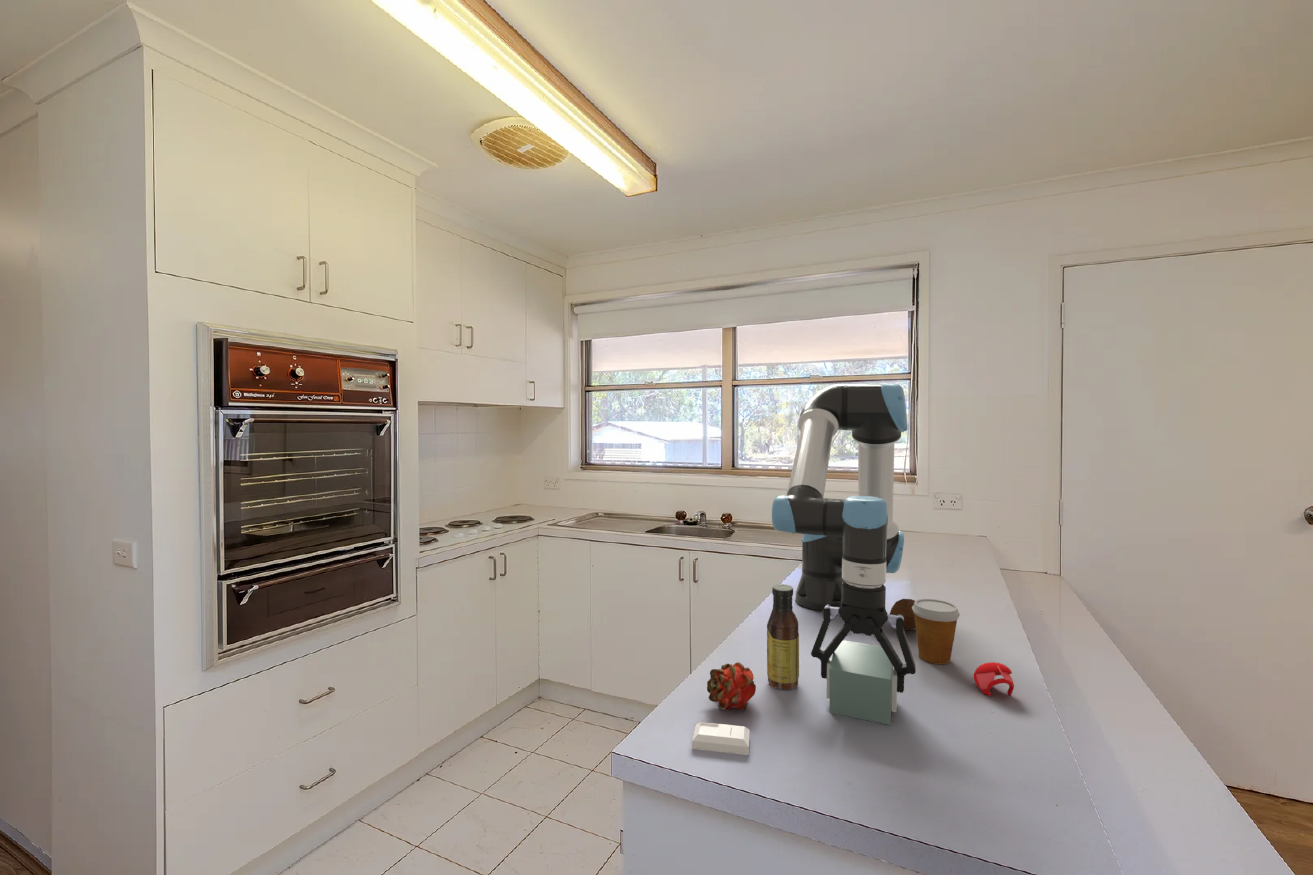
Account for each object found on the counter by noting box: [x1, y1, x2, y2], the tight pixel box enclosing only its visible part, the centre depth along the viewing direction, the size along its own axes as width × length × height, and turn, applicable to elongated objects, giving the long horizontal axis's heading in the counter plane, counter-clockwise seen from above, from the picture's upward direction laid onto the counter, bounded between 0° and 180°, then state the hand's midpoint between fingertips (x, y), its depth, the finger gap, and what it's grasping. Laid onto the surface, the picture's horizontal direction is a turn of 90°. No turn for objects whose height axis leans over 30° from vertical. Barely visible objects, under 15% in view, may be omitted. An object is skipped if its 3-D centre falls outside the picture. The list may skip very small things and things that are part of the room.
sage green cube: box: [829, 639, 894, 726], centre depth 106 cm, size 10×10×9 cm
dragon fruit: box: [706, 661, 757, 712], centre depth 106 cm, size 8×8×12 cm
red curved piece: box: [972, 662, 1015, 697], centre depth 112 cm, size 8×6×6 cm
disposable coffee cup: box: [912, 598, 961, 665], centre depth 127 cm, size 10×10×12 cm
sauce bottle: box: [766, 584, 800, 691], centre depth 114 cm, size 7×6×20 cm
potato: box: [889, 598, 916, 631], centre depth 143 cm, size 7×10×8 cm
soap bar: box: [691, 721, 751, 756], centre depth 94 cm, size 5×9×3 cm, turn 79°
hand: (861, 701), depth 105 cm, fingers open, 10 cm apart
